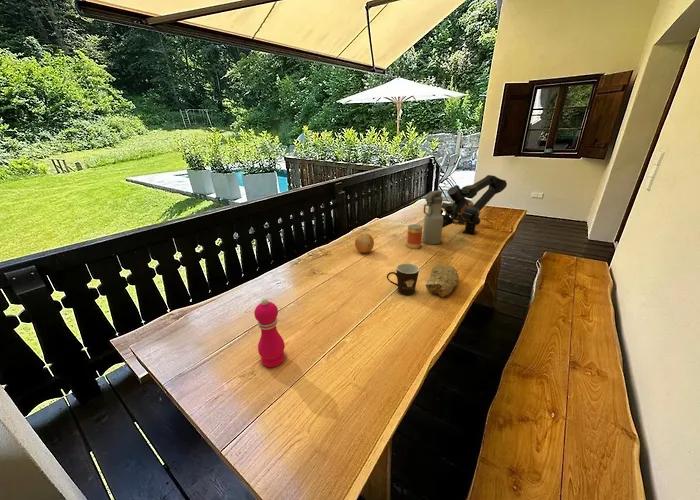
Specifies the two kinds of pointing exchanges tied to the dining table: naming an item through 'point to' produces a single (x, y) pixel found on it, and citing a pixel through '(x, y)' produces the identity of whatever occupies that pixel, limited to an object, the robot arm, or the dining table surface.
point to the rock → (442, 279)
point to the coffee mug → (406, 278)
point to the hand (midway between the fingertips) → (439, 228)
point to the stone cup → (465, 208)
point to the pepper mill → (269, 334)
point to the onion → (364, 243)
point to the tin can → (414, 236)
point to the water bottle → (433, 218)
